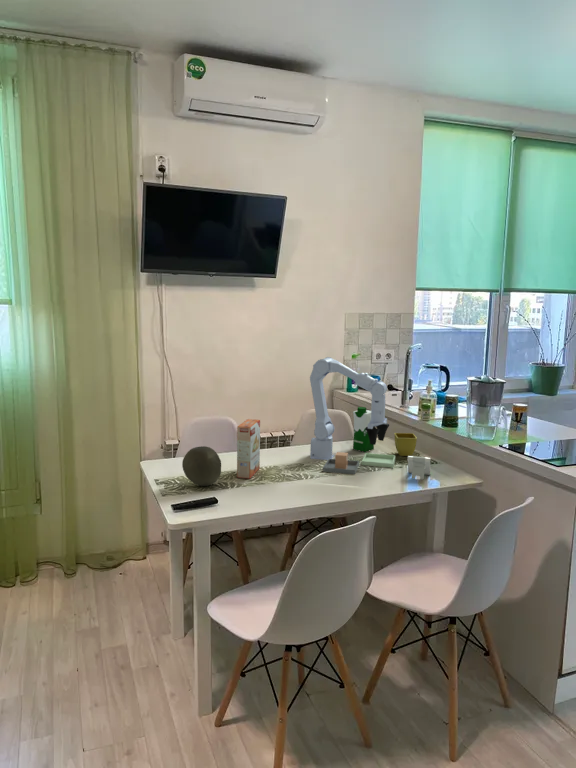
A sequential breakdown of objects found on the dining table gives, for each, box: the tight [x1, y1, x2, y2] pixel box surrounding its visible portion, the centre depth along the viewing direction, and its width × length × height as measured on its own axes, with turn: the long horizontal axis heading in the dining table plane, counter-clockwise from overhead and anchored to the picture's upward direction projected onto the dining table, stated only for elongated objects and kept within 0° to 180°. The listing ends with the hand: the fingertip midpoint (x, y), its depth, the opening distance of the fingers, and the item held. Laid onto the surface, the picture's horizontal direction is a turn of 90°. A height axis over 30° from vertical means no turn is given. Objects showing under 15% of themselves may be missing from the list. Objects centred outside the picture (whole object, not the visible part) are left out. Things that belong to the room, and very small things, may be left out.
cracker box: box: [236, 418, 261, 480], centre depth 230 cm, size 14×6×21 cm, turn 167°
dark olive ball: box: [182, 445, 222, 487], centre depth 215 cm, size 14×14×15 cm
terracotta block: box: [334, 451, 349, 469], centre depth 236 cm, size 4×4×6 cm
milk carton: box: [352, 406, 375, 453], centre depth 266 cm, size 9×9×20 cm
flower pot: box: [393, 432, 418, 457], centre depth 258 cm, size 9×9×9 cm
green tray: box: [361, 452, 396, 470], centre depth 246 cm, size 13×13×2 cm
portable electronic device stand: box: [407, 455, 431, 480], centre depth 229 cm, size 9×8×8 cm
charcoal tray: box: [322, 458, 360, 475], centre depth 237 cm, size 13×13×2 cm
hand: (376, 442), depth 242 cm, fingers open, 7 cm apart
